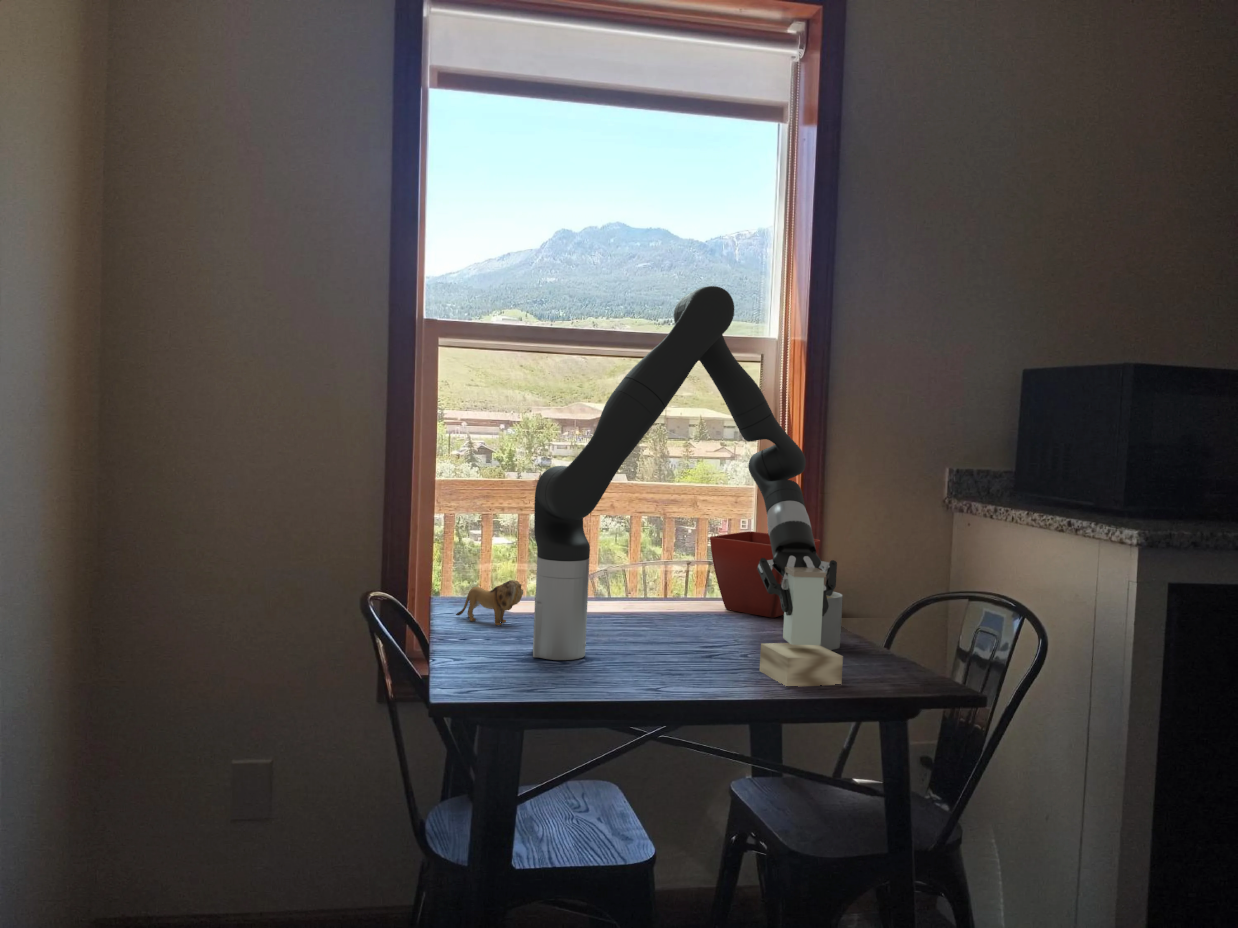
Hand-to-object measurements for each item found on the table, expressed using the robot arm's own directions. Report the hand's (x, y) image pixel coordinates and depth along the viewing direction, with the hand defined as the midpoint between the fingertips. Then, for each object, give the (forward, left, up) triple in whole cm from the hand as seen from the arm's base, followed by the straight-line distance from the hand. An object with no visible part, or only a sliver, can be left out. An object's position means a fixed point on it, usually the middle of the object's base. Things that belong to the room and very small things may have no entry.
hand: (806, 612), depth 156 cm
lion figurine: (-53, +41, -12) cm, 68 cm away
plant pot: (+8, +60, -12) cm, 61 cm away
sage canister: (0, +2, -5) cm, 6 cm away
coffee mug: (+10, +29, -12) cm, 33 cm away
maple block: (0, +2, -12) cm, 12 cm away
